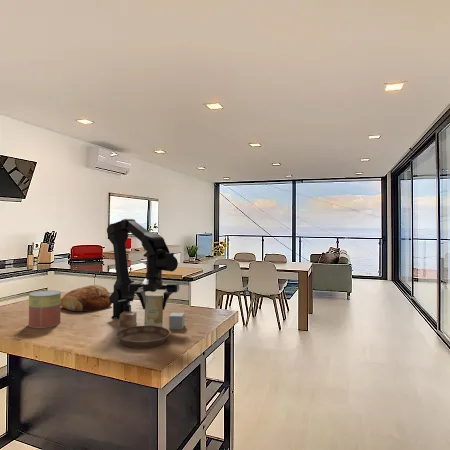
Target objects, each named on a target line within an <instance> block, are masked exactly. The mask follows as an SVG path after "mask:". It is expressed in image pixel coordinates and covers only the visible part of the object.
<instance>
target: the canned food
mask: <svg viewBox="0 0 450 450" xmlns="http://www.w3.org/2000/svg"><path fill="white" fill-rule="evenodd" d="M61 293H62V292H61V291H60V290H53V289H51V290H40V291H39V290H38V291H33V292H30V293H28V325H27V326H28V327H29V328H32V329H42V328H52V327H54V326H55V327H56V326H58V325H60V324H61V312H62V311H61V307H62V306H61V298H62V297H61V296H62V295H61Z"/></svg>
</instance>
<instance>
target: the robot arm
mask: <svg viewBox="0 0 450 450" xmlns="http://www.w3.org/2000/svg"><path fill="white" fill-rule="evenodd" d="M106 232H107V233H106V234H107V237H108V240H109V242H110V243H111V245H112V246H113V256H114V264H115V272H116V273H115V274H116V276H115V277H116V280H115V281H114V282H115V283H114V284H113V292H112V293H111V295H110V297H109V300H110V303H112V316H111V319H120V314H121V313H123V312H124V311H125V312H132V305H131V302H134V299H135V295H137V297H138V299H139V301H140V304H141V307H142V309H143V310H145V295H146V293H147V292H151V293H155V292H156V291H157V290H159V291H161V290H162V291H164V292H163V311H165V309H166V306H167V303H168V300H169V298H170V296H171V295H172V294H173V293H174V294H175V293H178V292H179V291H180V284H179V283H178V282H168V283H167V284H163V278H162V277H163V275H162V274H163V271H165V272H171V273H172V272H175V271H176V270H177V269H178V263H179V261H178V259H177V258H176V257H175V256H174V255H175V254H174V252H171V251H170V250H169V248H168V246H167V243H166V241H165V238H164V237H163V236H162V235H158V234H157V233H152V232H150V231H149V230H147V229H146V228H144V227H143V226H142V225H141V224H140V223H138V222H137V221H136V219H134V218H124V219H121V220H120V221H117V222H116V221H115V222H113V223H110V224H109V225H108V226H107V228H106ZM129 233H130V234H132V235H133V236H134V237H135V238H136V239H138V240H139V241H140V242H141V247H142V248H143V249H144V250H145V253H144V254H143V257H144V258H146V272H145V277H144V280H143V281H135V280H132V279H131V278H130V276H129V265H128V256H127V247H126V243H127V240H128V238H129Z"/></svg>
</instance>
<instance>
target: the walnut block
mask: <svg viewBox="0 0 450 450" xmlns="http://www.w3.org/2000/svg"><path fill="white" fill-rule="evenodd" d="M135 326H137V311H131V312H125V311H124V312H123V313H121V314H120V318H119V328H121V329H125V328H129V327H135Z"/></svg>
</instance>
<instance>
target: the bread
mask: <svg viewBox="0 0 450 450" xmlns="http://www.w3.org/2000/svg"><path fill="white" fill-rule="evenodd" d="M110 296H111V295H110V292H109V291H108V289H107V288H106V287H104V286H102V285H98V284H93V285H90V284H89V285H87V286H82V287H79V288H76V289H73V290H71V291H69V292H67V293H66V294H65V295H63V296H62V297H61V307H62V308H64V309H66V310H68V311H72V312H92V311H97V310H101V309H105V308H108V307H110V306H112V305H113V303H110V300H109V297H110Z"/></svg>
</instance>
